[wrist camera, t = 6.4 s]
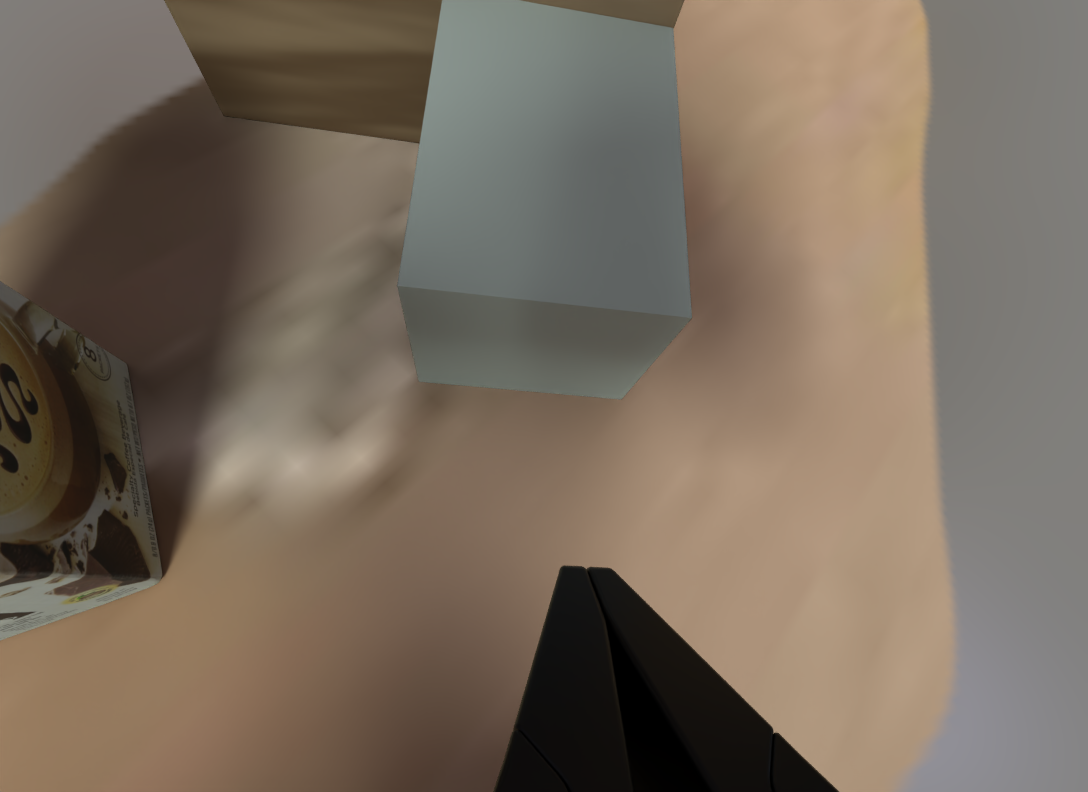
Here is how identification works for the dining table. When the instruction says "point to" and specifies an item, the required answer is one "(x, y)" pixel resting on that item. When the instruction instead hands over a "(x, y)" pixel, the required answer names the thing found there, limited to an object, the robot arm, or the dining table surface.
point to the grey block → (546, 202)
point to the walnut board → (338, 57)
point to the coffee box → (67, 474)
